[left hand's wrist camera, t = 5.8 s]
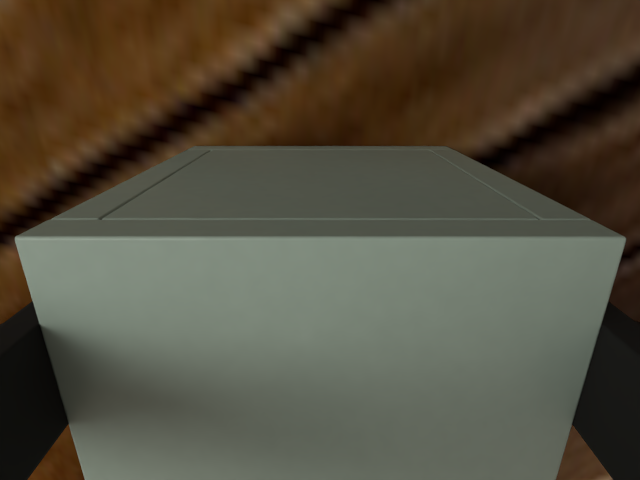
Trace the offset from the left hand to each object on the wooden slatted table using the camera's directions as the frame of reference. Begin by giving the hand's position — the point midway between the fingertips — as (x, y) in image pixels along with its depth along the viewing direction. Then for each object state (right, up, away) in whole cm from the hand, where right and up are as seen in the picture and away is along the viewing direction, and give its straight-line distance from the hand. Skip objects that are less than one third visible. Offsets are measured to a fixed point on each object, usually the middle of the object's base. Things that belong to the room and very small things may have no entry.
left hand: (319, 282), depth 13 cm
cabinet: (0, -4, +9) cm, 10 cm away
